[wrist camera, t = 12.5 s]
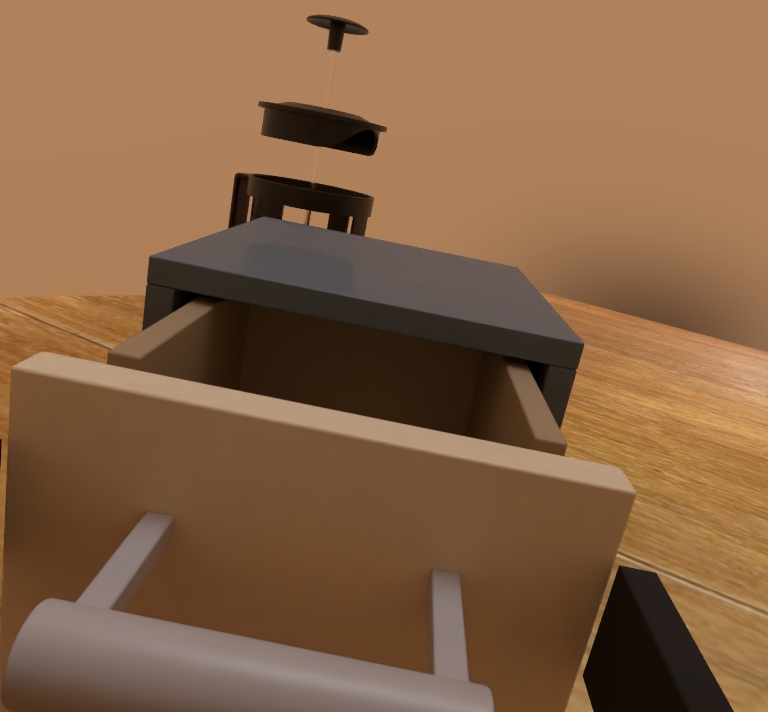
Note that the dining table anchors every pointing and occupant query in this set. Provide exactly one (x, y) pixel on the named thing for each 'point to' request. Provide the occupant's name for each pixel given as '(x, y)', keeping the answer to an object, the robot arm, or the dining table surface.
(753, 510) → the dining table surface
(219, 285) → the cabinet
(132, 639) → the drawer
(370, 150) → the french press
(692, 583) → the dining table surface
